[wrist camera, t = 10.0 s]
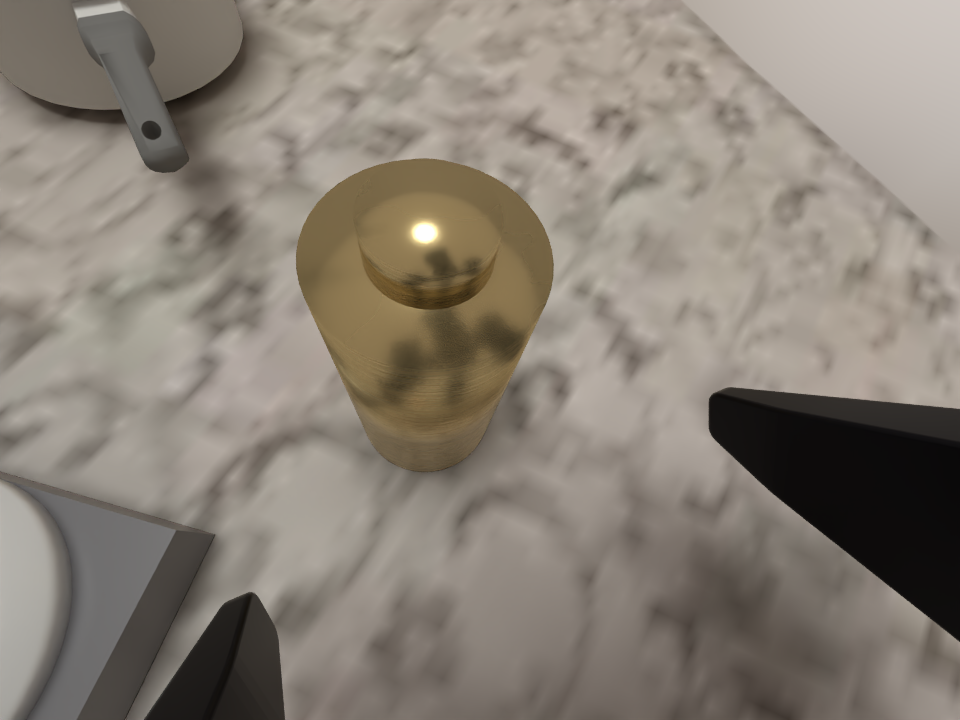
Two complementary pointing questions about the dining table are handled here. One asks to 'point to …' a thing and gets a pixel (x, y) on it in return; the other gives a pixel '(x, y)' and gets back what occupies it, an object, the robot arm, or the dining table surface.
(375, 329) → the brass weight
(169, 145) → the saucepan
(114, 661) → the kitchen scale
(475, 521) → the dining table surface
